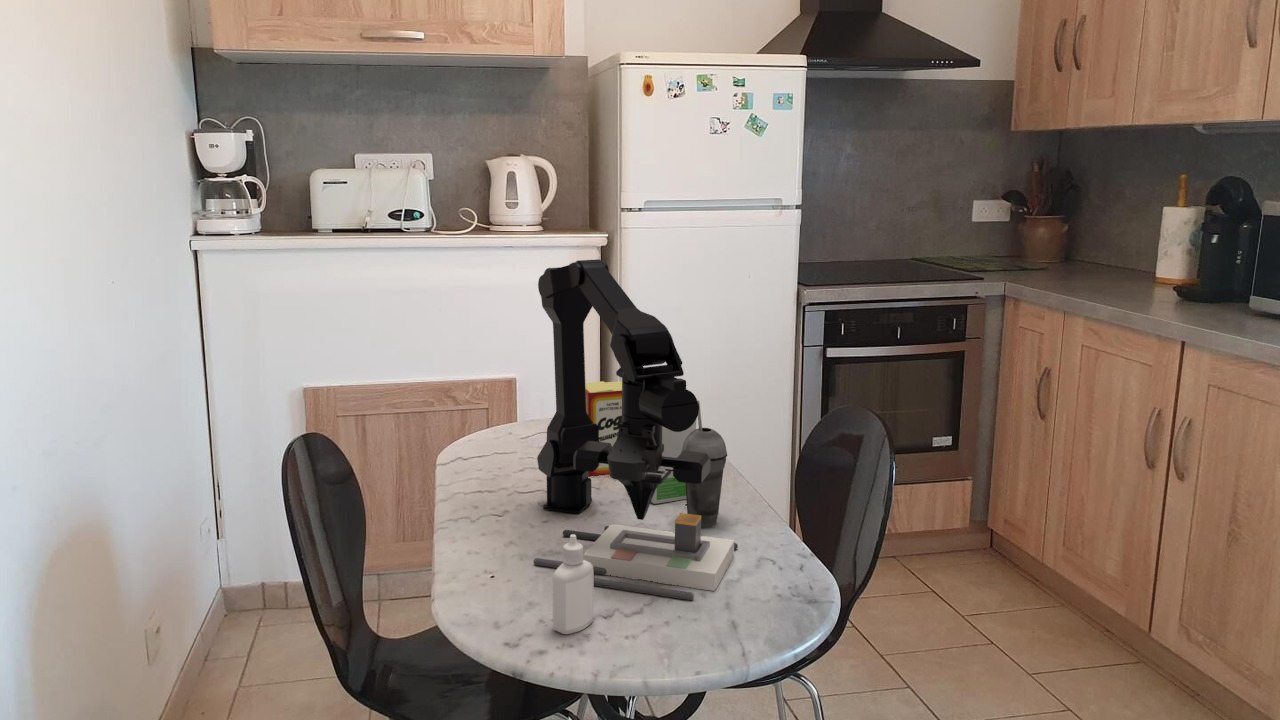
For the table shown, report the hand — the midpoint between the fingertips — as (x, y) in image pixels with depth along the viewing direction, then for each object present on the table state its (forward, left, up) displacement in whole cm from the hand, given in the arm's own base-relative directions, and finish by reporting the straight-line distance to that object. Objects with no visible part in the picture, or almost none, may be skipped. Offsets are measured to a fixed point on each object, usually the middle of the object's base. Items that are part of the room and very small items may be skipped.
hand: (641, 518), depth 139 cm
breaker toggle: (+7, 0, -4) cm, 8 cm away
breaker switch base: (+3, 0, -6) cm, 7 cm away
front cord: (-2, -8, -6) cm, 10 cm away
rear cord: (-1, +7, -6) cm, 9 cm away
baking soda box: (-18, +37, -7) cm, 42 cm away
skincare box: (-4, +27, -7) cm, 28 cm away
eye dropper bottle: (-2, -21, -7) cm, 22 cm away
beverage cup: (+5, +17, -7) cm, 19 cm away
